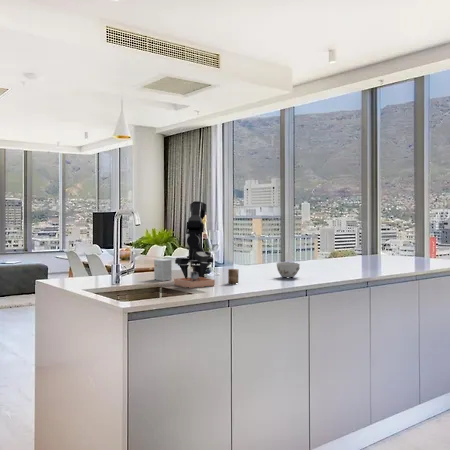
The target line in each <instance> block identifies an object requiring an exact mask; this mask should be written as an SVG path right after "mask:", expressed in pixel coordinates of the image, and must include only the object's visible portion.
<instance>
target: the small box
mask: <svg viewBox="0 0 450 450" xmlns="http://www.w3.org/2000/svg"><path fill="white" fill-rule="evenodd" d="M153 261H154V262H153V264H154V265H153V268H154V270H153V271H154V272H153V273H154V274H153V275H154V278H153V279H154V280H155V279H156V281H161V282H166V281H172V273H173V272H172V259H167V258H157V259H156V258H155V259H153Z"/></svg>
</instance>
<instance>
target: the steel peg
mask: <svg viewBox="0 0 450 450" xmlns="http://www.w3.org/2000/svg"><path fill="white" fill-rule="evenodd" d="M189 273H190V274H189V275H190V276H189V277H190V282H193V281H199V272H195V271H193V270H192V271H190V272H189Z"/></svg>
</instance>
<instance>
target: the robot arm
mask: <svg viewBox="0 0 450 450" xmlns="http://www.w3.org/2000/svg"><path fill="white" fill-rule="evenodd" d="M207 206H208V205H207V203H205V202H203V201H201V200H200V201H199V200H197V201H192V202H191V203H190V204H189V207H190V208H189V211H190V213H191V216H190V217H188V221H186V228H185V234H186V235H188V237H187V238H186V243H187V245H188V247H187V248H186V250H187V251H188V255H187V256H186V257H176V258H175V261H174V264H176V265H177V266H179V268H180V270H181V271H182V274H183V276H184V278H185V279H187V278H188V270H189V267H190V268H192V272H193V271H195V272H199V277H202V278H208V277H207V276H206V275H205V273H206V270H207V268H209V266H210V265H212V263H214V258H213V256H212V255H211V251H205V249H204V248H203V233H205V232H204V231H205V224H204V222H203V220H204V218H205V216H206V213H207V212H208V211H207V210H208V209H207V208H208V207H207ZM189 263H190V265H189Z"/></svg>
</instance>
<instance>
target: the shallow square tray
mask: <svg viewBox="0 0 450 450" xmlns="http://www.w3.org/2000/svg"><path fill="white" fill-rule="evenodd" d="M173 280H174V281H173V285H174V286H177V285H178V287H181V286H183V287H182V288H186V287H189V288H188V289H195V288H194V287H200V288H205V287H204V286H210V287H215V286H214V285H216V282H215V281H216V280H215V279H212V278H208V277H207V278H202V277H199V281H193V282H190V276H189V277H187V279H185V277H181V278H180V277H178V278H174V279H173Z"/></svg>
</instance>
